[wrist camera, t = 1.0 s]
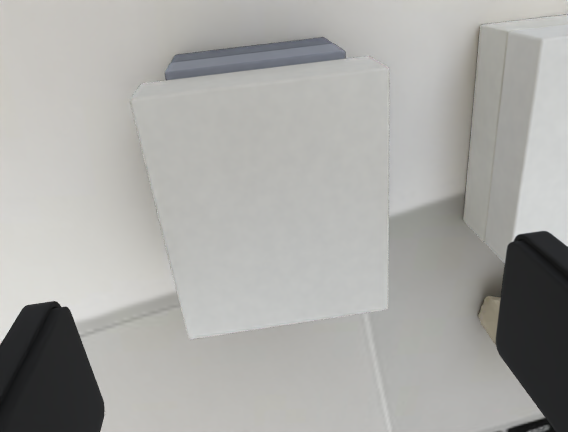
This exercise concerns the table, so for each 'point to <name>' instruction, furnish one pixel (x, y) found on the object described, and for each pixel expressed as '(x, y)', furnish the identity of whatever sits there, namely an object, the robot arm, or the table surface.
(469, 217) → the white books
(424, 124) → the table surface
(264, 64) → the grey-blue block
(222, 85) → the white book
